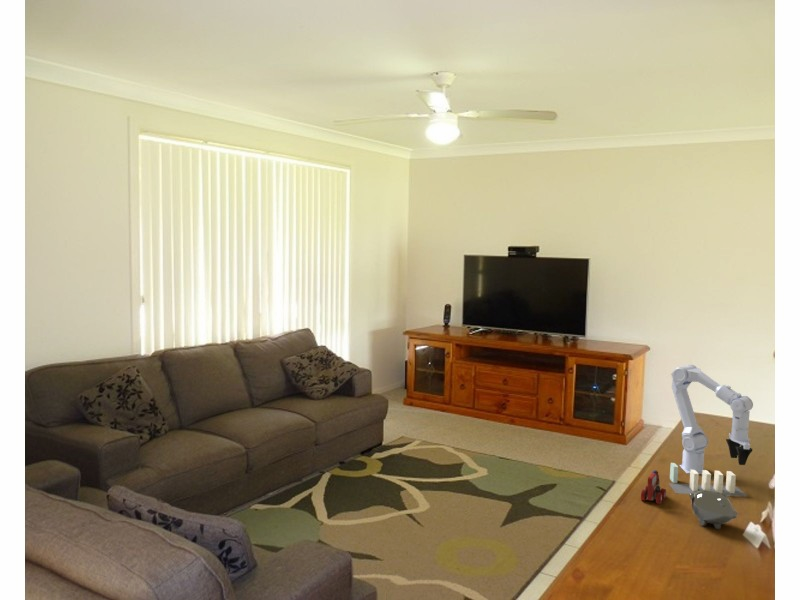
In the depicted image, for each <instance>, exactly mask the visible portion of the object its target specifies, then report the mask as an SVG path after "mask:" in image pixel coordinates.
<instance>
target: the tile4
mask: <svg viewBox="0 0 800 600" xmlns="http://www.w3.org/2000/svg"><path fill="white" fill-rule="evenodd" d="M713 485H714V489H715V490H716V491H717V492H719V493H722V489H723V486H724V474H723V473H722V472H721V471H720V470H714V476H713Z"/></svg>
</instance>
